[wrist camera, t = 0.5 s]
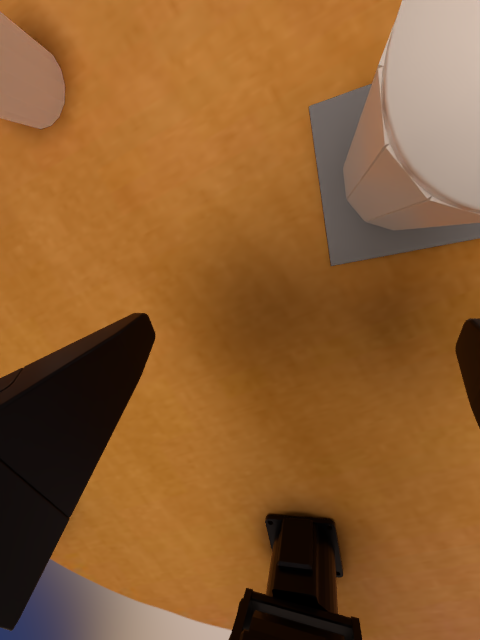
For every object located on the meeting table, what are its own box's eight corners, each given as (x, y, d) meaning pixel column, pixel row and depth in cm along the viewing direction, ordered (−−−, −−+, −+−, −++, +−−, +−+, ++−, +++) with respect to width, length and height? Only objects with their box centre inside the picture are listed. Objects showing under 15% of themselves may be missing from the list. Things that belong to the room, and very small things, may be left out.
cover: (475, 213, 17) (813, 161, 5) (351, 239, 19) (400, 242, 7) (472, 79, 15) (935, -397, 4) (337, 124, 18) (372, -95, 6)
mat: (502, 233, 17) (506, 233, 17) (330, 265, 20) (331, 266, 20) (501, 40, 15) (506, 35, 15) (309, 108, 18) (309, 106, 18)
